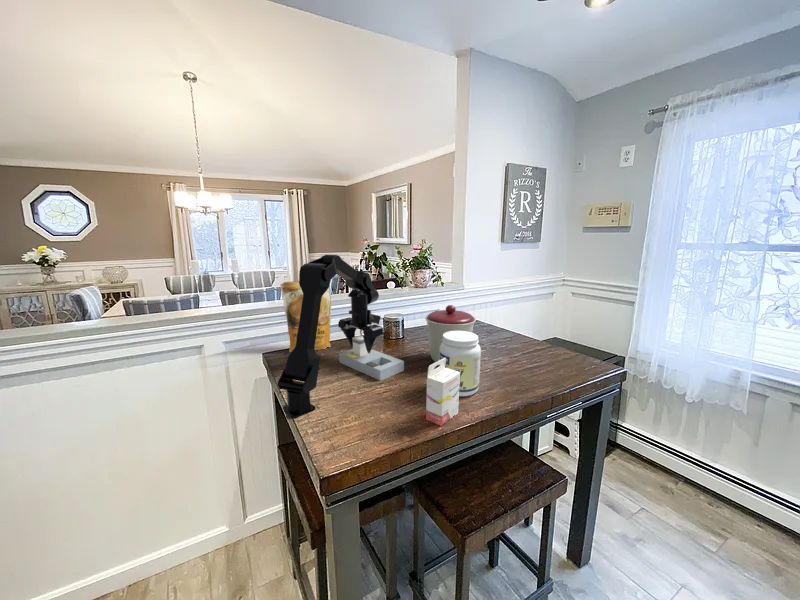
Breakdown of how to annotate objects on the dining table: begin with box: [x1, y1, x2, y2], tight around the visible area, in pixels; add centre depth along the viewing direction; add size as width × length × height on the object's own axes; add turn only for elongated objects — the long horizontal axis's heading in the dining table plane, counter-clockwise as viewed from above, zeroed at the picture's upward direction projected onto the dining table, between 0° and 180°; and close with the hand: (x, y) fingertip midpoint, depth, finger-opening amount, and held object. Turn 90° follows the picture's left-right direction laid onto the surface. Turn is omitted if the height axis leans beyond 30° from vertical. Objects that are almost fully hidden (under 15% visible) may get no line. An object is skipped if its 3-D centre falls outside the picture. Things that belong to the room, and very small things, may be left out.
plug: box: [352, 334, 369, 357], centre depth 120 cm, size 4×4×9 cm
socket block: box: [338, 348, 405, 382], centre depth 117 cm, size 22×11×4 cm, turn 46°
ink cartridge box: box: [425, 358, 460, 427], centre depth 84 cm, size 9×5×15 cm, turn 141°
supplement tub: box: [438, 331, 482, 397], centre depth 100 cm, size 12×12×17 cm
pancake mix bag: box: [280, 280, 332, 353], centre depth 132 cm, size 7×19×28 cm, turn 110°
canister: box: [424, 304, 477, 363], centre depth 121 cm, size 18×18×21 cm
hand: (360, 349), depth 120 cm, fingers open, 9 cm apart
